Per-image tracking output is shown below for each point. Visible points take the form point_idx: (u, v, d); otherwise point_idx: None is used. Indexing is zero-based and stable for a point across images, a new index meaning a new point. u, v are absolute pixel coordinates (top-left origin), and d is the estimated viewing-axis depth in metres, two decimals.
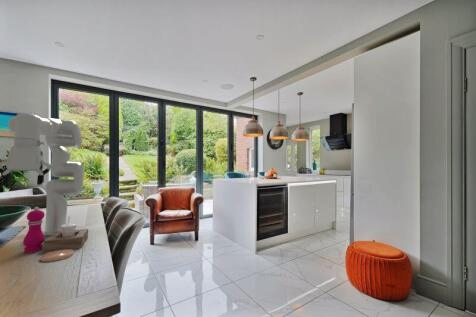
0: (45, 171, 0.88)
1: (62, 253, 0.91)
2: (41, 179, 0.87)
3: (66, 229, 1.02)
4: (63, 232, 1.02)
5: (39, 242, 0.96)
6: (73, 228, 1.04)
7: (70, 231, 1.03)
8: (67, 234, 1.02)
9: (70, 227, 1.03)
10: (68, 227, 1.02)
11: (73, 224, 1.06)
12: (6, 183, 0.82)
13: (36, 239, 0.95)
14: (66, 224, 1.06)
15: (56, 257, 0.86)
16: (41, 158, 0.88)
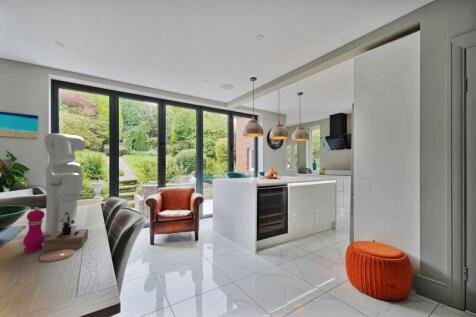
0: None
1: (62, 253, 0.91)
2: None
3: None
4: None
5: (39, 242, 0.96)
6: (73, 228, 1.04)
7: None
8: None
9: None
10: None
11: (73, 224, 1.06)
12: None
13: (36, 239, 0.95)
14: None
15: (56, 257, 0.86)
16: None
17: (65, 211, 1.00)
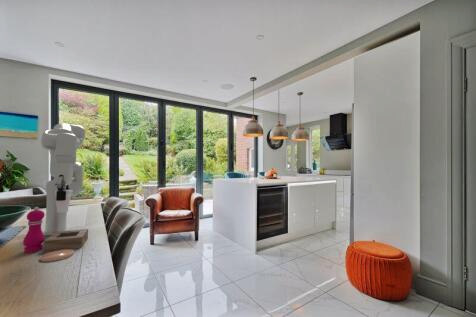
0: None
1: (62, 253, 0.91)
2: None
3: None
4: None
5: (39, 242, 0.96)
6: (69, 193, 0.94)
7: None
8: None
9: None
10: None
11: None
12: None
13: (36, 239, 0.95)
14: None
15: (56, 257, 0.86)
16: None
17: (59, 173, 0.90)
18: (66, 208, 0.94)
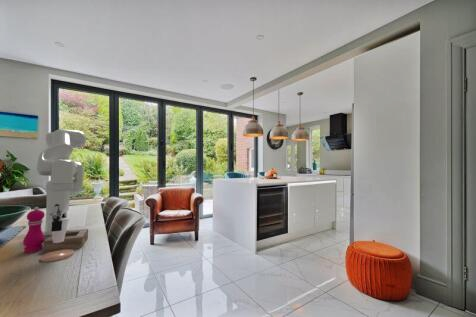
0: None
1: (62, 253, 0.91)
2: None
3: None
4: None
5: (39, 242, 0.96)
6: (65, 222, 0.90)
7: None
8: None
9: None
10: None
11: (65, 218, 0.92)
12: None
13: (36, 239, 0.95)
14: None
15: (56, 257, 0.86)
16: None
17: (55, 203, 0.87)
18: (62, 238, 0.90)
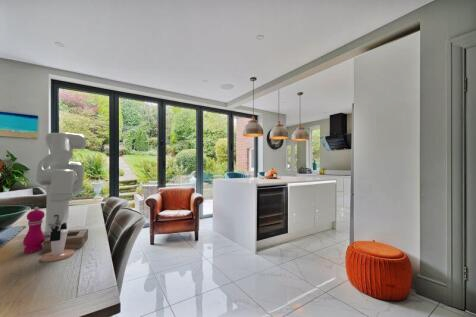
0: (65, 221, 0.97)
1: None
2: None
3: None
4: None
5: (39, 242, 0.96)
6: (64, 235, 0.90)
7: (60, 238, 0.89)
8: (57, 242, 0.88)
9: None
10: None
11: (64, 230, 0.92)
12: None
13: (36, 239, 0.95)
14: None
15: (56, 257, 0.86)
16: None
17: (54, 213, 0.86)
18: (61, 250, 0.90)
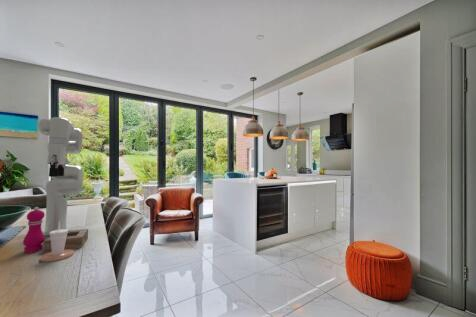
0: None
1: None
2: None
3: (56, 236, 0.88)
4: (52, 240, 0.88)
5: (39, 242, 0.96)
6: (64, 235, 0.90)
7: (60, 238, 0.89)
8: (57, 242, 0.88)
9: (60, 234, 0.89)
10: (58, 234, 0.88)
11: (64, 230, 0.92)
12: None
13: (36, 239, 0.95)
14: (56, 230, 0.92)
15: (56, 257, 0.86)
16: None
17: (53, 153, 0.99)
18: (61, 250, 0.90)
